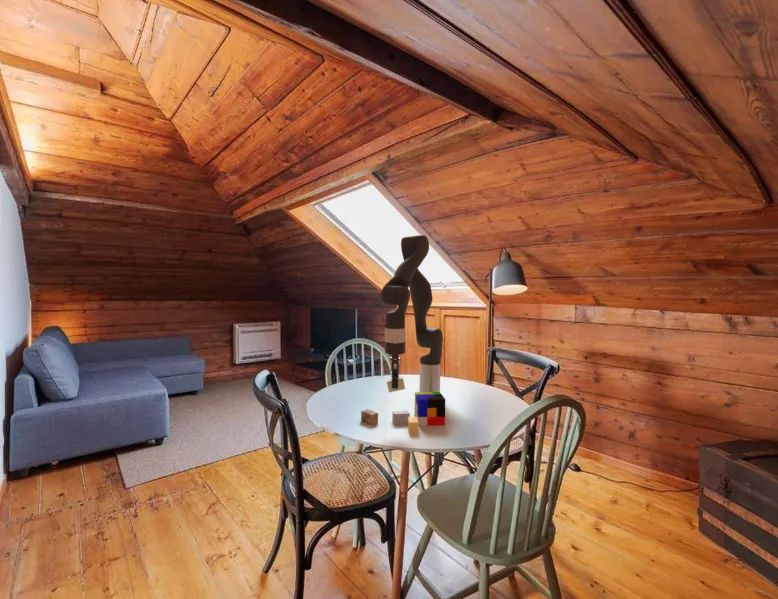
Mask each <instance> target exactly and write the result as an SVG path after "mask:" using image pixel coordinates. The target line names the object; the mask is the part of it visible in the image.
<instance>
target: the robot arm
mask: <svg viewBox="0 0 778 599" xmlns="http://www.w3.org/2000/svg"><path fill="white" fill-rule="evenodd" d="M428 238H429V237H427V236H426V235H425V234H414V235H406V236H403V237H402V238H401V240H400V241H401V242H400V250H401V254H402V259H403V261H402V262H401V263H400V264H399V265H398V266H397V268H396V270H395V272H394V274H393V277H392V278H390V279H389V280H388V282H386V283H385V284H384V285H383V287H382V289H381V290H380V299H381V302H382V303H383V304H384V305H389V306H397V309H396V310H392V311H388V312H386V314H385V332H384V353H385V354H387V355H391V357H389V365H390V369H389V370H390V372H391V373H390V374H391V376H390V377H391V379H392V388H393V389H397V388H398V378H399V377H400V375H399V374H400V370H401V369H400V368H401V367H400V366H401V362H402V361H401V357H399V355H404V354H405V353H406V327H405V326H406V314H407V308H408V305H409V302H410V298H411V303H412V311H413V315H414V316H413V317H414V324H415V337H416V342H417V345H418V346H419V347H420V348H425V349H426V348H427V349H429V353H427V354H424V355H422V356H420V357H419V391H418V392H440V393H441V360H442V354H443V340H444V337H443V332H442V329H440V328H436V327H428V326H427V314H428V312H429V310H430V309H431V306H432V303H433V294H432V293H433V292H432V287H431V284H430V282H429V281H428V279H427V278H426V277H425V276H424V274H423V273H422V272H421V271H420V270H419V267H420V266H421V264H422V263H423V261H424V260H425V258H426V257H427V256H428V254H429V250H430V242H429V239H428Z"/></svg>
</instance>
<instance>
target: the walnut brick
mask: <svg viewBox="0 0 778 599" xmlns="http://www.w3.org/2000/svg"><path fill="white" fill-rule="evenodd" d="M360 416H361V417H360V421H361V422H363V423H365V424H368V425H370V426H373V425H377V424H378V423H379V413H378V412H377V411H374V410H371V409H368V408H367V409H363V410H361V412H360Z"/></svg>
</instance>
